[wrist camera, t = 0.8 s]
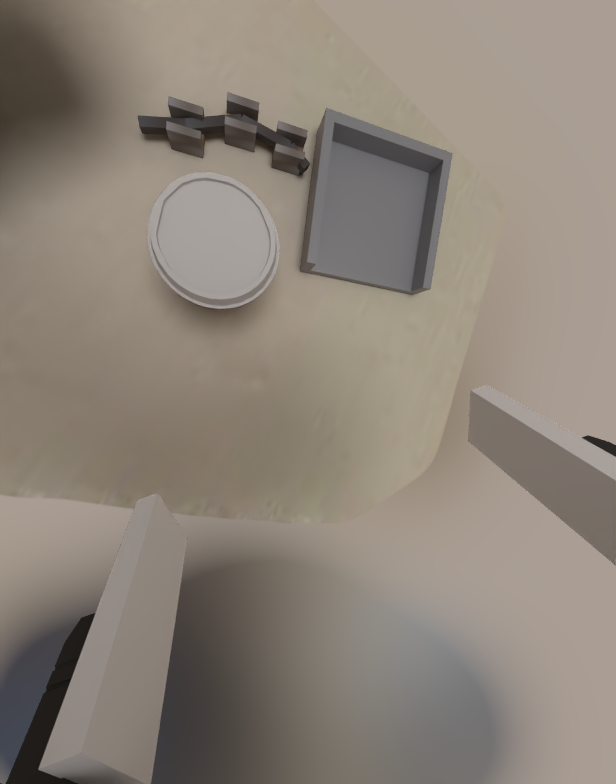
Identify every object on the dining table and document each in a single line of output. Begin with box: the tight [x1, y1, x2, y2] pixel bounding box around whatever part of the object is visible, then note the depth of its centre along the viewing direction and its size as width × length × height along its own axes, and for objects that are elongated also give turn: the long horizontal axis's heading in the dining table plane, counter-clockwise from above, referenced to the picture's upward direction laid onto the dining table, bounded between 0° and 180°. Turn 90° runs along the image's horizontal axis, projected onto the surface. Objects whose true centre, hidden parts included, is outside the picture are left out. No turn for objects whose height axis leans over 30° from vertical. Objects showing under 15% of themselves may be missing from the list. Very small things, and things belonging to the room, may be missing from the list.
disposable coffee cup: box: [147, 172, 280, 309], centre depth 27 cm, size 10×10×12 cm
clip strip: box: [138, 92, 310, 175], centre depth 30 cm, size 16×5×3 cm, turn 82°
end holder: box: [300, 108, 452, 295], centre depth 34 cm, size 15×15×4 cm
